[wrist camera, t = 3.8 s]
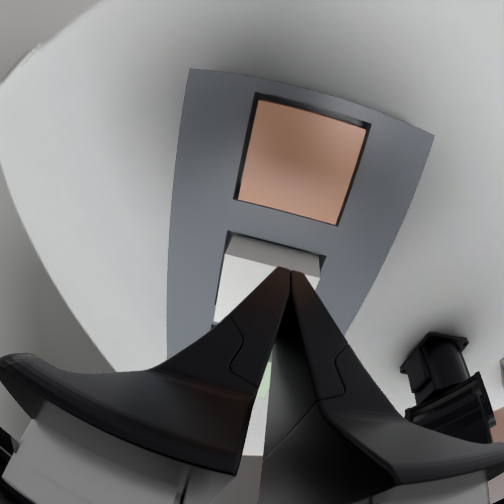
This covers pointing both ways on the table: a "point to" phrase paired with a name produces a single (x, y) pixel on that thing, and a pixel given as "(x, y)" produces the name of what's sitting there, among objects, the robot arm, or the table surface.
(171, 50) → the table surface
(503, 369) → the coffee box
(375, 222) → the keypad console
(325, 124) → the terracotta key
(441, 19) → the table surface
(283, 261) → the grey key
